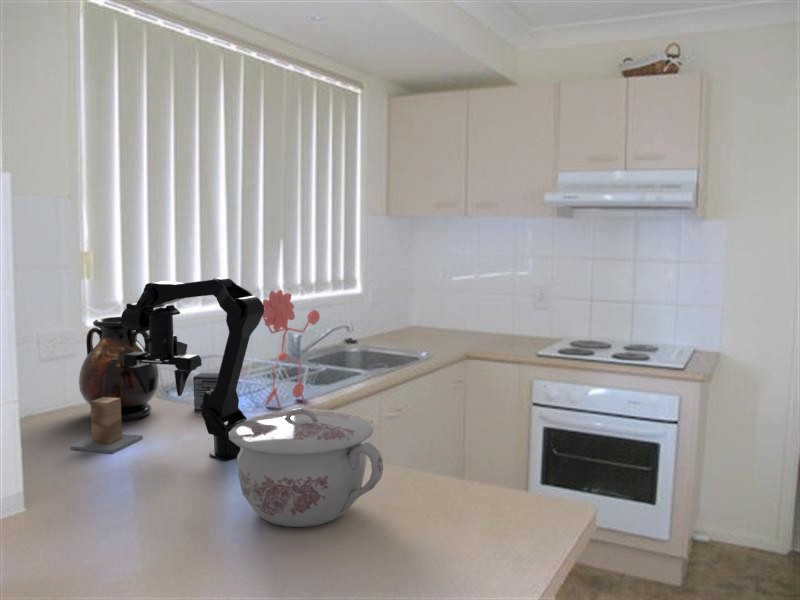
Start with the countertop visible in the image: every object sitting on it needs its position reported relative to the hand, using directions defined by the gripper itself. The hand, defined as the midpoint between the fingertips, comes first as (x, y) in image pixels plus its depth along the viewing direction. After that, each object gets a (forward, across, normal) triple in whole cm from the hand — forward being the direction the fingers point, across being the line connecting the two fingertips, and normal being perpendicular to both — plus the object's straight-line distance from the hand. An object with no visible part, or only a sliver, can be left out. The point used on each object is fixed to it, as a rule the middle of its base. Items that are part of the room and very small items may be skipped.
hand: (163, 394), depth 176 cm
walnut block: (+12, +15, +2) cm, 19 cm away
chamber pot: (+13, -49, +30) cm, 59 cm away
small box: (+13, +5, -34) cm, 37 cm away
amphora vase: (+13, +28, -21) cm, 37 cm away
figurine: (+13, -10, -46) cm, 49 cm away
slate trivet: (+13, +15, +2) cm, 20 cm away
